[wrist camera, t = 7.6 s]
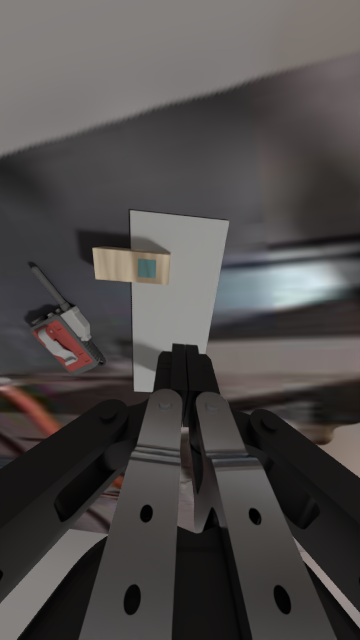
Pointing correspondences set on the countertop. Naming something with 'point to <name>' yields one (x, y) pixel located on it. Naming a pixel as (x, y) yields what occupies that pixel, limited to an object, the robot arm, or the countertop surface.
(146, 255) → the beech block
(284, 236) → the countertop surface
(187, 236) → the mat
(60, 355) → the walkie-talkie
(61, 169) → the countertop surface
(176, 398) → the robot arm
